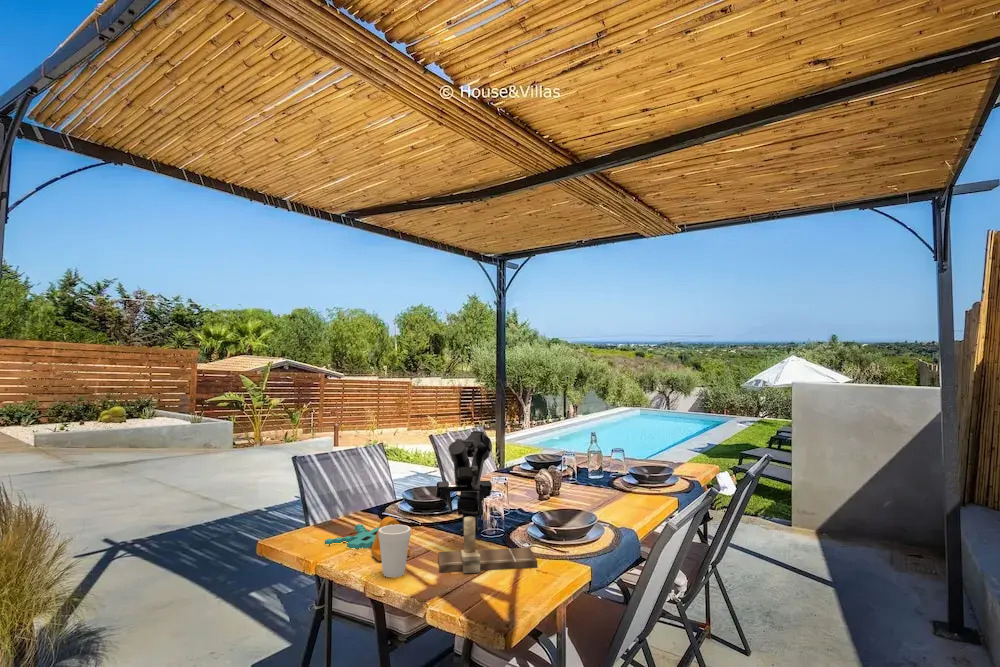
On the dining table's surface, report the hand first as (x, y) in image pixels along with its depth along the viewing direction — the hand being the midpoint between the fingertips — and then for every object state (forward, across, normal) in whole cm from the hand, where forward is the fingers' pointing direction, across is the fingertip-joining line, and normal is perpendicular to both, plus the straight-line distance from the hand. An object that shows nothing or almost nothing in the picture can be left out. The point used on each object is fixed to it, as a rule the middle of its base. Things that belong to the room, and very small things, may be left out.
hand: (465, 511), depth 175 cm
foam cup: (+19, -23, +3) cm, 29 cm away
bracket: (+8, -24, +13) cm, 28 cm away
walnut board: (+15, +6, +5) cm, 17 cm away
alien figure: (-5, -33, +26) cm, 42 cm away
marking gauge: (+17, 0, +3) cm, 18 cm away
